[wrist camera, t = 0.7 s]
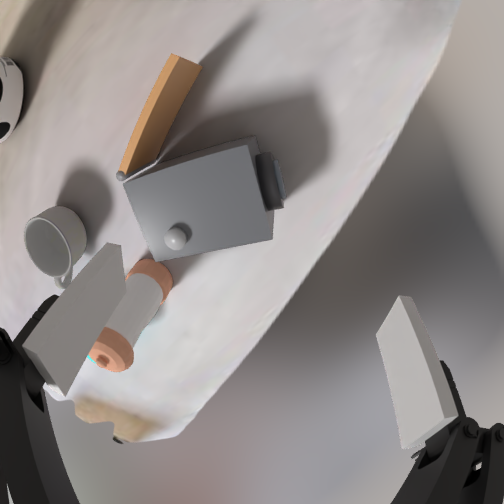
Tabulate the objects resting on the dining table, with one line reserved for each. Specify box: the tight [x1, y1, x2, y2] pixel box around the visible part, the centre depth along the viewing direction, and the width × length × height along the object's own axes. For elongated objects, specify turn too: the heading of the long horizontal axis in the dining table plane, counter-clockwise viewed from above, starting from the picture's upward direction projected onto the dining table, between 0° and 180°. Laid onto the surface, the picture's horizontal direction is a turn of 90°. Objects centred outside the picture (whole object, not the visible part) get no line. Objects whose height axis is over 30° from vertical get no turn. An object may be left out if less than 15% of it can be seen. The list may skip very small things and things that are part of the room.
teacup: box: [24, 206, 87, 289], centre depth 39 cm, size 14×11×8 cm
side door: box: [116, 53, 202, 181], centre depth 28 cm, size 1×15×8 cm, turn 150°
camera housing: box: [123, 135, 286, 262], centre depth 32 cm, size 10×16×10 cm, turn 105°
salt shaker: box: [88, 259, 173, 372], centre depth 36 cm, size 7×7×19 cm
